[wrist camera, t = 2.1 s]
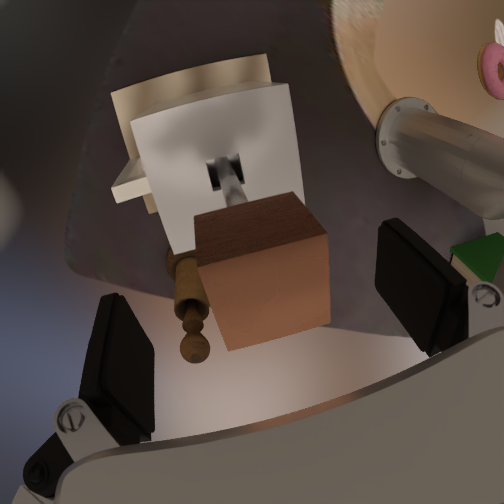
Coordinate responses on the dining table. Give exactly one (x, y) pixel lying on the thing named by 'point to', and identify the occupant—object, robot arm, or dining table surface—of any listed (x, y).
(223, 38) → the dining table surface
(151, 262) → the dining table surface
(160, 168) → the press pot
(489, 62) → the doughnut
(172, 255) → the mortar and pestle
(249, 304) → the brown square-faced block
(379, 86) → the dining table surface
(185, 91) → the birch board
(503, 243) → the hardback book
